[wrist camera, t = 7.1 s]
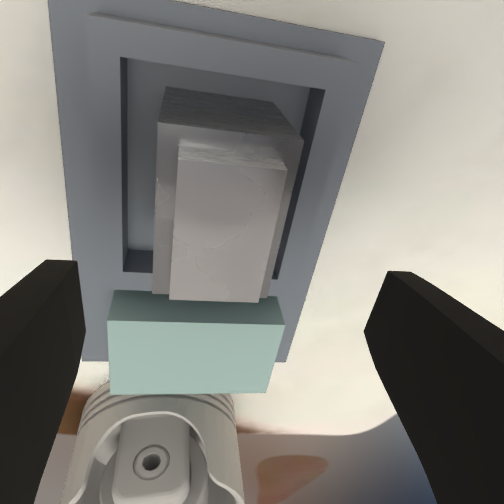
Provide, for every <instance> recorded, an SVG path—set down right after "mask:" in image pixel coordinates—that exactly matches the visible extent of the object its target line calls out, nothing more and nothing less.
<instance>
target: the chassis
mask: <svg viewBox="0 0 504 504" xmlns="http://www.w3.org/2000/svg"><path fill="white" fill-rule="evenodd" d="M48 8H49V19H50V29H51V40H52V50H53V61H54V71H55V82H56V92H57V103H58V113H59V124H60V134H61V145H62V155H63V166H64V176H65V187H66V197H67V208H68V218H69V229H70V239H71V250H72V260H73V261H77V263H78V270H79V278H80V286H81V294H82V302H83V310H84V318H85V326H86V334H85V339H84V344H83V349H82V354H81V355H82V361H109V377H110V395H135V394H217V393H266V390H267V387H268V384H269V380H270V377H271V373H272V370H273V366H274V363H275V362H286V359H287V356H288V353H289V350H290V346H291V343H292V340H293V337H294V334H295V330H296V327H297V324H298V321H299V317H300V314H301V311H302V308H303V305H304V301H305V298H306V295H307V292H308V288H309V285H310V282H311V279H312V276H313V272H314V269H315V266H316V263H317V259H318V256H319V253H320V250H321V247H322V243H323V240H324V237H325V234H326V230H327V227H328V224H329V221H330V218H331V214H332V211H333V208H334V205H335V202H336V198H337V195H338V192H339V189H340V185H341V182H342V179H343V176H344V173H345V169H346V166H347V163H348V160H349V156H350V153H351V150H352V147H353V144H354V140H355V137H356V134H357V131H358V127H359V124H360V121H361V118H362V115H363V111H364V108H365V105H366V102H367V98H368V95H369V92H370V89H371V86H372V82H373V79H374V76H375V73H376V69H377V66H378V63H379V60H380V57H381V53H382V50H383V47H384V44H385V42H383V41H378V40H373V39H368V38H362V37H357V36H352V35H347V34H342V33H337V32H332V31H327V30H321V29H316V28H311V27H306V26H301V25H296V24H291V23H286V22H280V21H275V20H270V19H265V18H260V17H255V16H250V15H245V14H239V13H234V12H229V11H224V10H219V9H214V8H209V7H204V6H198V5H193V4H188V3H183V2H178V1H173V0H48ZM166 86H167V87H174V88H181V89H188V90H195V91H202V92H209V93H215V94H222V95H229V96H236V97H243V98H250V99H257V100H264V101H270V102H274V104H275V105H276V106H277V107H278V109H279V110H280V111H281V112H282V114H283V115H284V116H285V117H286V119H287V120H288V121H289V122H290V123H291V125H292V126H293V127H294V128H295V130H296V131H297V132H298V133H299V135H300V136H301V137H302V138H303V140H304V145H303V149H302V153H301V157H300V161H299V166H298V170H297V174H296V178H295V182H294V187H293V191H292V195H291V199H290V203H289V208H288V212H287V216H286V220H285V224H284V229H283V233H282V237H281V241H280V246H279V250H278V254H277V258H276V262H275V267H274V271H273V275H272V279H271V283H270V288H269V292H268V296H267V298H259V302H258V303H251V302H222V301H193V300H169V294H152V279H153V249H154V219H155V190H156V160H157V130H158V119H159V115H160V110H161V106H162V101H163V97H164V93H165V88H166Z"/></svg>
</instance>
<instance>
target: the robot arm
mask: <svg viewBox="0 0 504 504" xmlns="http://www.w3.org/2000/svg"><path fill="white" fill-rule="evenodd" d="M85 334H86V326H85V318H84V310H83V302H82V294H81V286H80V278H79V270H78V263H77V261H73V260H45V261H44V262H43V263H41V264H40V265H39V266H38V267H36V268H35V269H34V270H33V271H31V272H30V273H29V274H28V275H26V276H25V277H24V278H23V279H22V280H20V281H19V282H18V283H17V284H15V285H14V286H13V287H12V288H11V289H9V290H8V291H7V292H6V293H4V294H3V295H2V296H1V297H0V504H34V501H35V497H36V494H37V491H38V487H39V484H40V480H41V478H42V475H43V472H44V469H45V466H46V463H47V460H48V457H49V455H50V452H51V449H52V446H53V443H54V440H55V437H56V434H57V432H58V429H59V426H60V423H61V420H62V417H63V414H64V411H65V408H66V406H67V403H68V400H69V397H70V394H71V391H72V388H73V385H74V382H75V379H76V376H77V373H78V368H79V364H80V359H81V354H82V349H83V344H84V339H85ZM364 334H365V337H366V341H367V344H368V347H369V351H370V354H371V356H372V359H373V362H374V365H375V368H376V370H377V372H378V374H379V377H380V379H381V381H382V383H383V385H384V387H385V389H386V391H387V393H388V395H389V397H390V400H391V402H392V404H393V406H394V408H395V410H396V412H397V414H398V416H399V417H400V420H401V422H402V424H403V426H404V428H405V430H406V432H407V434H408V436H409V438H410V440H411V442H412V444H413V446H414V448H415V450H416V452H417V455H418V456H419V459H420V461H421V463H422V466H423V468H424V470H425V473H426V475H427V477H428V480H429V483H430V485H431V488H432V491H433V493H434V496H435V499H436V501H437V504H504V331H503V330H502V329H500V328H498V327H497V326H495V325H494V324H492V323H491V322H489V321H488V320H486V319H485V318H483V317H482V316H480V315H478V314H477V313H475V312H474V311H472V310H471V309H469V308H468V307H466V306H465V305H463V304H462V303H460V302H459V301H457V300H456V299H454V298H453V297H451V296H450V295H448V294H447V293H445V292H444V291H442V290H440V289H439V288H437V287H436V286H434V285H433V284H431V283H429V282H428V281H426V280H424V279H423V278H421V277H419V276H417V275H416V274H414V273H412V272H405V271H388V272H387V274H386V277H385V279H384V282H383V284H382V287H381V289H380V292H379V294H378V297H377V299H376V302H375V304H374V307H373V309H372V312H371V314H370V317H369V319H368V322H367V324H366V327H365V329H364Z"/></svg>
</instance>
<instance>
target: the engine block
mask: <svg viewBox="0 0 504 504" xmlns="http://www.w3.org/2000/svg"><path fill="white" fill-rule="evenodd" d="M303 145H304V140H303V138H302V137H301V136H300V135H299V133H298V132H297V131H296V130H295V128H294V127H293V126H292V125H291V123H290V122H289V121H288V120H287V119H286V117H285V116H284V115H283V114H282V112H281V111H280V110H279V109H278V107H277V106H276V105H275V104H274V102H270V101H264V100H257V99H250V98H243V97H236V96H229V95H222V94H215V93H209V92H202V91H195V90H188V89H181V88H174V87H167V86H166V88H165V93H164V97H163V101H162V106H161V110H160V115H159V119H158V130H157V160H156V190H155V219H154V249H153V279H152V294H169V300H193V301H222V302H251V303H258V302H259V298H267V296H268V292H269V288H270V283H271V279H272V275H273V271H274V267H275V262H276V258H277V254H278V250H279V246H280V241H281V237H282V233H283V229H284V224H285V220H286V216H287V212H288V208H289V203H290V199H291V195H292V191H293V187H294V182H295V178H296V174H297V170H298V166H299V161H300V157H301V153H302V149H303Z"/></svg>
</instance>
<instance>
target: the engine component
mask: <svg viewBox="0 0 504 504" xmlns="http://www.w3.org/2000/svg"><path fill="white" fill-rule="evenodd" d="M60 504H245V501H244V493H243V483H242V475H241V466H240V458H239V449H238V441H237V431H236V423H235V414H234V406H233V401H232V399H231V397H230V395H229V393H217V394H135V395H110V381H109V382H107V383H105V384H104V385H102V386H100V387H99V388H98V389H97V390H96V391H95V392H94V393H93V394H92V395H91V396H90V397H89V399H88V400H87V402H86V404H85V406H84V409H83V412H82V416H81V421H80V424H79V430H78V433H77V438H76V441H75V445H74V449H73V453H72V457H71V461H70V465H69V469H68V473H67V477H66V481H65V485H64V489H63V494H62V499H61V502H60Z"/></svg>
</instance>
